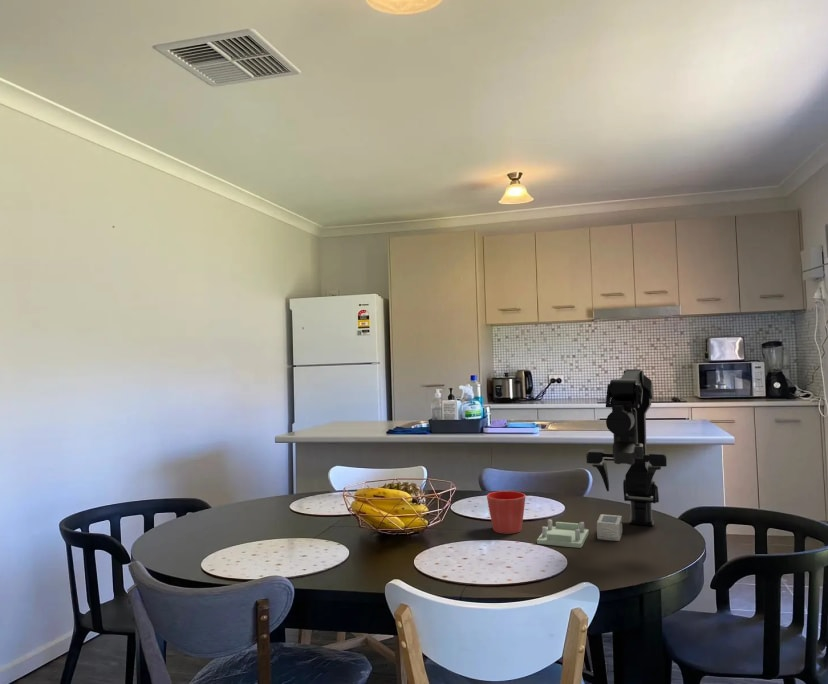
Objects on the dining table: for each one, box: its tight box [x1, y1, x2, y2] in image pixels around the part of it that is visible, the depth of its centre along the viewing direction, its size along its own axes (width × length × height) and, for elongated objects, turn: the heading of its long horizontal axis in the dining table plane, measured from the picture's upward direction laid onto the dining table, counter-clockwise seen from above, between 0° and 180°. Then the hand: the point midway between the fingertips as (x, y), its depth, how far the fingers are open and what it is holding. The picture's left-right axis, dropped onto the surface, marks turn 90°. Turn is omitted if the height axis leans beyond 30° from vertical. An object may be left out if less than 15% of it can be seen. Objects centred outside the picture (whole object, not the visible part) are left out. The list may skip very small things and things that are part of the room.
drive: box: [596, 513, 623, 542], centre depth 165 cm, size 9×6×5 cm, turn 157°
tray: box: [536, 519, 590, 549], centre depth 163 cm, size 14×11×4 cm
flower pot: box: [486, 490, 526, 535], centre depth 172 cm, size 11×11×10 cm
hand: (627, 492), depth 155 cm, fingers open, 9 cm apart
